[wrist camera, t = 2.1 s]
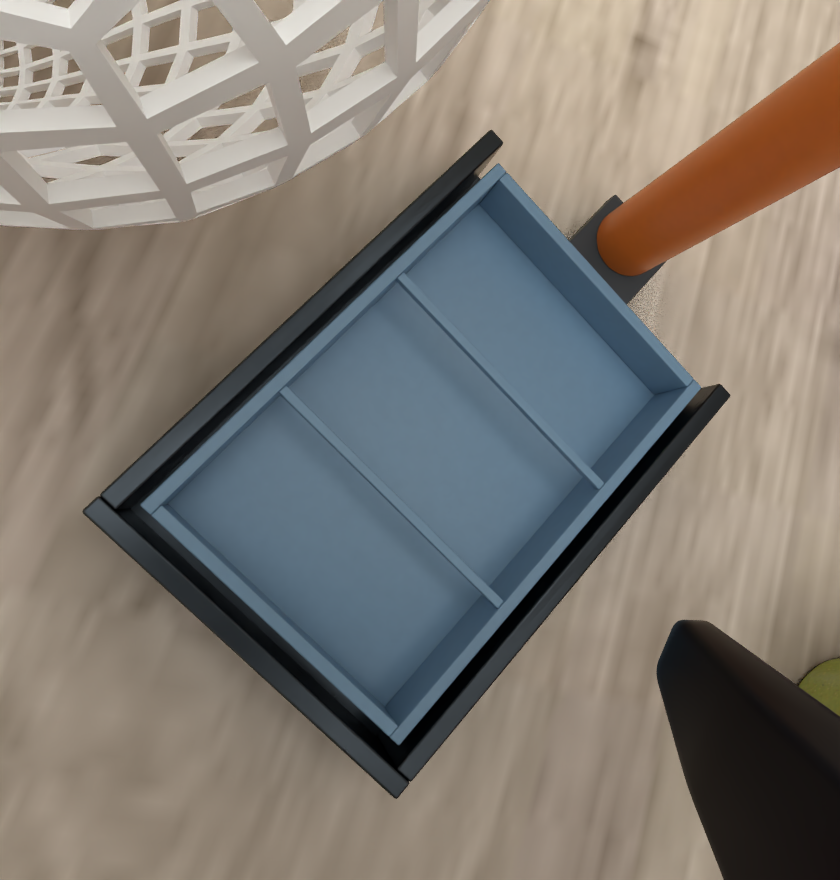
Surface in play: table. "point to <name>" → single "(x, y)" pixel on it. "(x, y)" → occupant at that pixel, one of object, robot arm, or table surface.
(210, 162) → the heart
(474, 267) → the blue compartment tray
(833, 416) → the table surface
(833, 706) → the plant pot
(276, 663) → the box
